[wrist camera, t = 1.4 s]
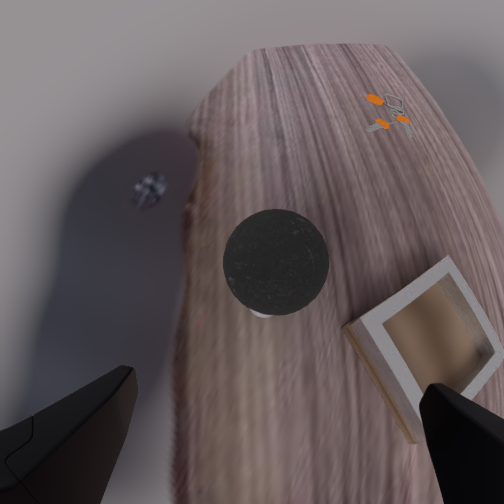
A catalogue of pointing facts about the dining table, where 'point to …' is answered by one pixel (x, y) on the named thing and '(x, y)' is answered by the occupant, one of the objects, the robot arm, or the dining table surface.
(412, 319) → the socket board
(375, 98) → the key chain
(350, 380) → the dining table surface
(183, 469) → the dining table surface
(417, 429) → the socket collar
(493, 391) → the dining table surface
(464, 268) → the dining table surface
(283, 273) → the light bulb
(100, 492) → the robot arm
